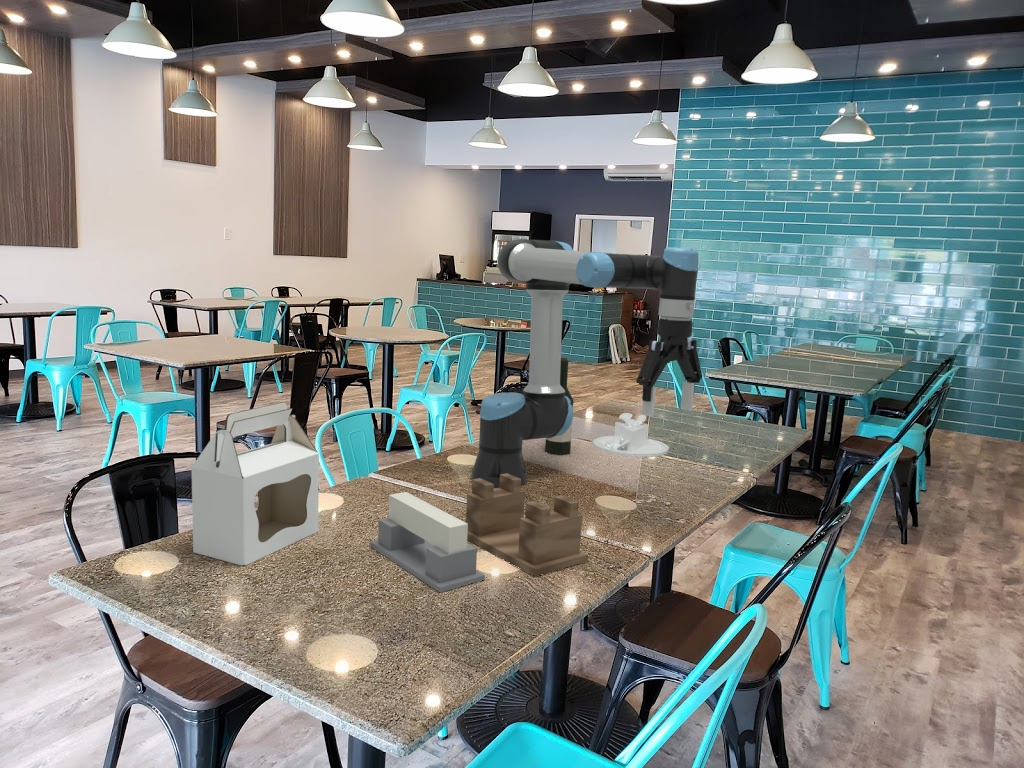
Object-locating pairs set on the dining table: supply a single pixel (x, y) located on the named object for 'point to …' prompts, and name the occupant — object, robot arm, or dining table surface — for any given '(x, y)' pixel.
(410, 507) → the white rectangular bar
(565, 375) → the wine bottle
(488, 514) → the notched wooden cradle
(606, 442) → the dish
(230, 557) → the gable box
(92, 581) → the dining table surface
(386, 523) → the stand
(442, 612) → the dining table surface
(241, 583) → the dining table surface
